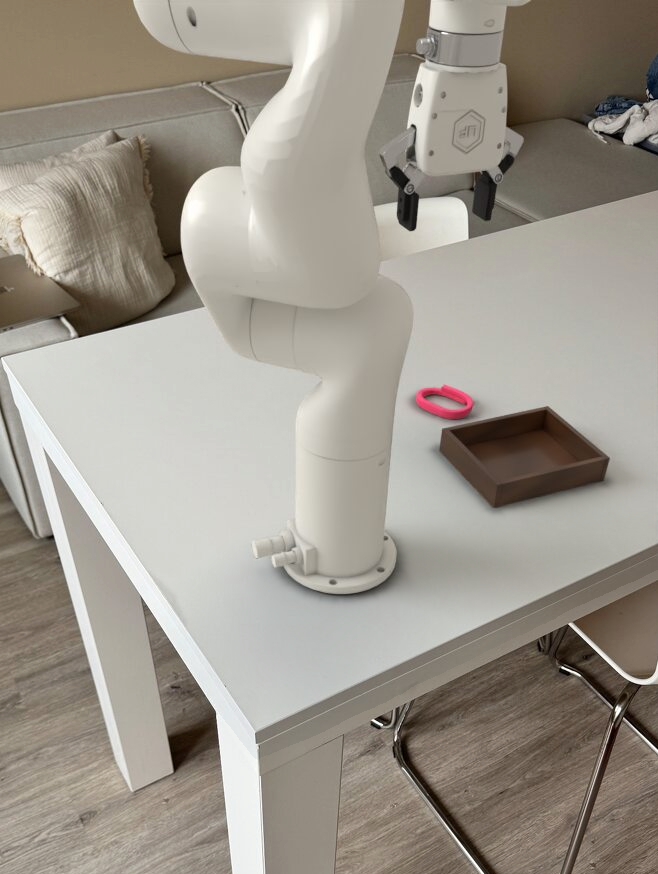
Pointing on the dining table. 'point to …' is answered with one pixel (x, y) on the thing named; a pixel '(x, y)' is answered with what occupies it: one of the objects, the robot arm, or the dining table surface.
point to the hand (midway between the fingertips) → (444, 222)
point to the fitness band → (449, 393)
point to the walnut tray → (522, 456)
